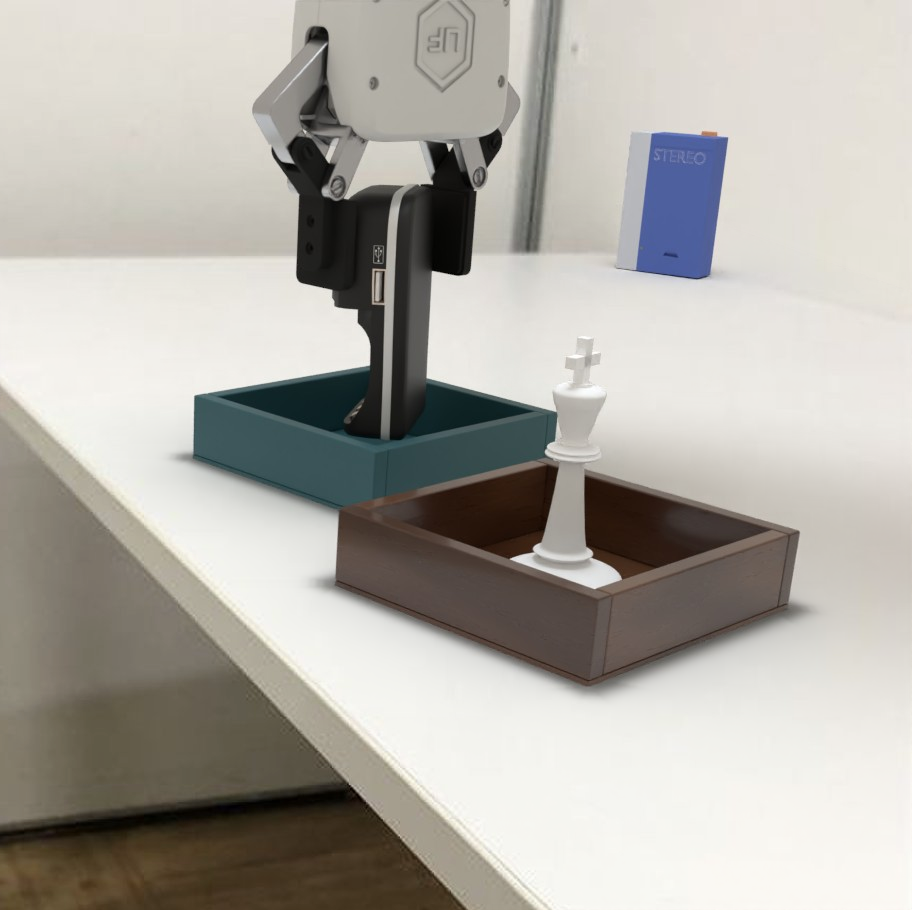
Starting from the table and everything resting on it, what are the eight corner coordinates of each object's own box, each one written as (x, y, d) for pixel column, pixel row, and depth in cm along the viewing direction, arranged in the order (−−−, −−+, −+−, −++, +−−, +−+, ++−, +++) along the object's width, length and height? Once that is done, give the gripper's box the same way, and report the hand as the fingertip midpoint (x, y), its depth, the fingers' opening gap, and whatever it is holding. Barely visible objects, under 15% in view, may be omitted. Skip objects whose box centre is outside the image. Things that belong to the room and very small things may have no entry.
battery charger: (353, 408, 83) (359, 177, 78) (426, 413, 82) (437, 180, 78) (323, 442, 76) (328, 193, 72) (402, 448, 76) (412, 196, 71)
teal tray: (371, 429, 88) (374, 364, 87) (551, 483, 80) (558, 412, 78) (192, 465, 80) (193, 395, 79) (371, 530, 72) (375, 451, 71)
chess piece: (470, 589, 63) (492, 335, 60) (541, 561, 67) (566, 319, 63) (577, 623, 60) (607, 357, 57) (646, 592, 64) (678, 340, 60)
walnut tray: (537, 535, 72) (545, 457, 71) (786, 617, 63) (801, 530, 62) (333, 594, 64) (338, 507, 63) (586, 697, 56) (598, 599, 54)
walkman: (710, 275, 142) (729, 132, 137) (697, 278, 140) (716, 134, 135) (628, 264, 146) (644, 125, 142) (614, 267, 144) (630, 127, 140)
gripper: (322, -155, 62) (303, 310, 68) (602, -124, 73) (563, 274, 79) (197, -148, 67) (192, 283, 74) (477, -120, 78) (450, 254, 84)
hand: (385, 276), depth 76 cm, fingers closed on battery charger, 7 cm apart
